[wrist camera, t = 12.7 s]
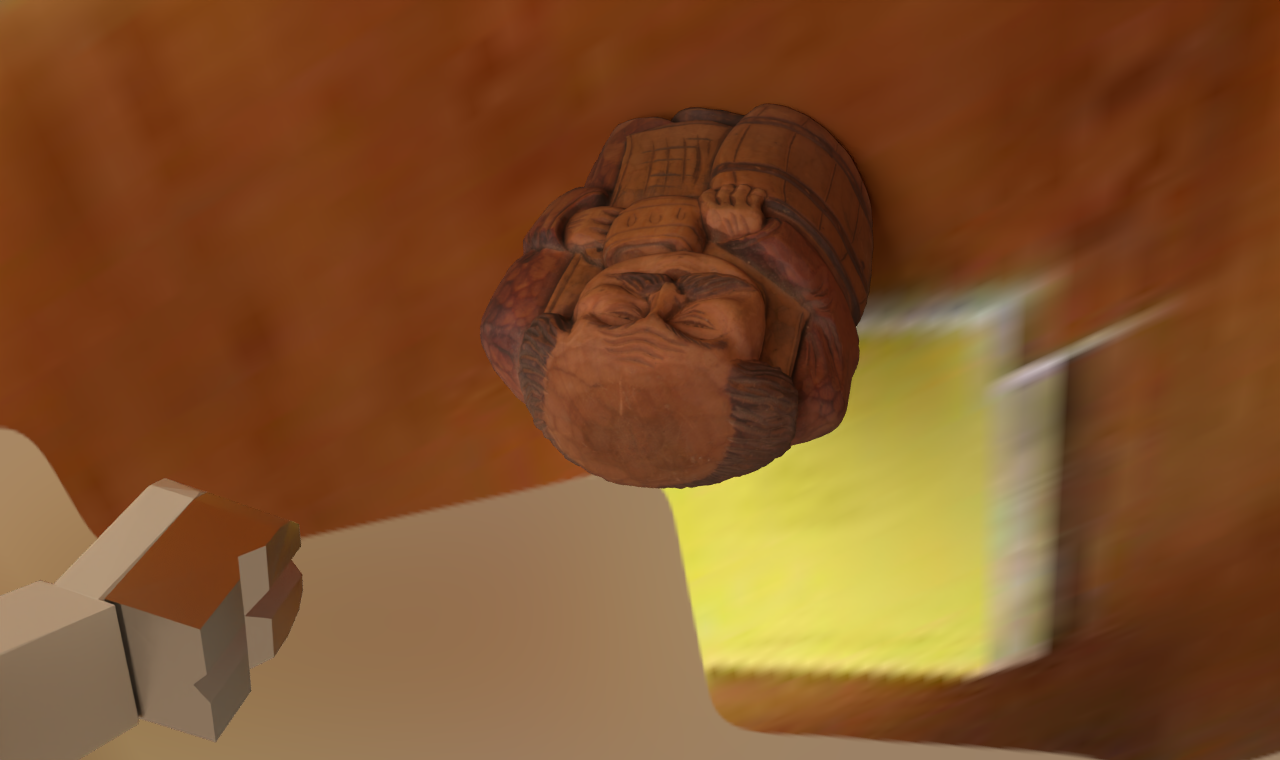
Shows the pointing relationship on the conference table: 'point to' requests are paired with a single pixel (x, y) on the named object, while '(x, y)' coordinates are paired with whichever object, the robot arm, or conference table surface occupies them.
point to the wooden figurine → (691, 298)
